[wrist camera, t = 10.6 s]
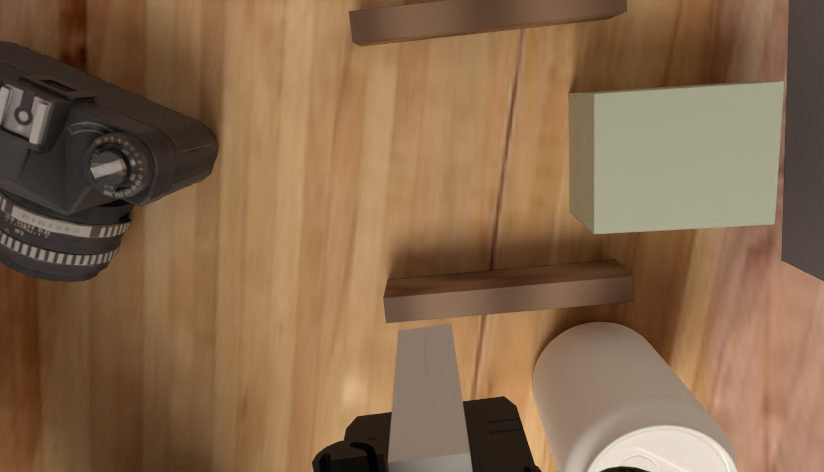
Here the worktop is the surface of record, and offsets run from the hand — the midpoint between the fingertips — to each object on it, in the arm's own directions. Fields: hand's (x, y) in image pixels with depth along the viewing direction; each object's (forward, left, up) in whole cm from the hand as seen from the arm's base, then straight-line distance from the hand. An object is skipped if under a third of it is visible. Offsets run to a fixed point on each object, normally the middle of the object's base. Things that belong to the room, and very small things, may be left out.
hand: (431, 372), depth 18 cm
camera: (-20, +6, -21) cm, 30 cm away
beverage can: (+9, -11, -21) cm, 26 cm away
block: (+13, +3, -21) cm, 25 cm away
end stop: (+21, +4, -21) cm, 30 cm away
